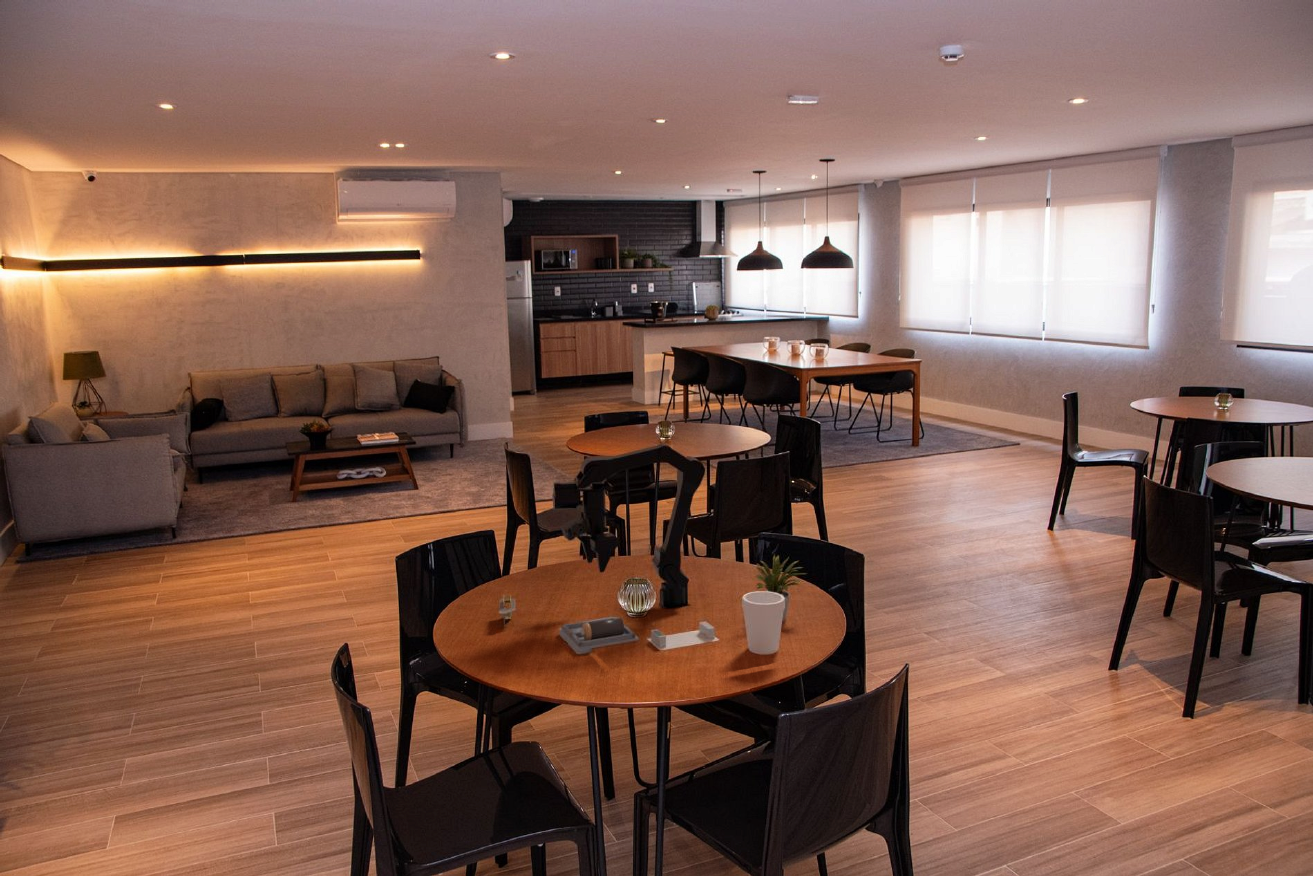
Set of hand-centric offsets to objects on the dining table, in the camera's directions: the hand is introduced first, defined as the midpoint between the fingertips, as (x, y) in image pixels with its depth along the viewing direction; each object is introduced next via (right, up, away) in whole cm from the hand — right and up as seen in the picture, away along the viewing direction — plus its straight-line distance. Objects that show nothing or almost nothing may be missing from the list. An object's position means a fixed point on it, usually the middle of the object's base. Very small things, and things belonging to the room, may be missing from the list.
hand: (595, 567), depth 242 cm
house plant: (+45, -13, -5) cm, 47 cm away
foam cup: (+40, -16, -27) cm, 50 cm away
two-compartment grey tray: (+2, -15, -17) cm, 22 cm away
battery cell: (+3, -14, -20) cm, 24 cm away
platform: (-22, -14, -4) cm, 26 cm away
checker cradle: (+22, -15, -20) cm, 33 cm away
